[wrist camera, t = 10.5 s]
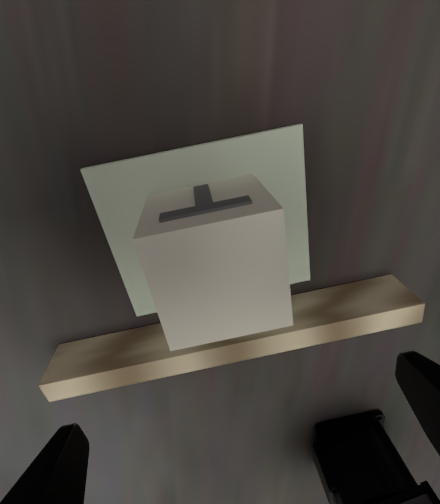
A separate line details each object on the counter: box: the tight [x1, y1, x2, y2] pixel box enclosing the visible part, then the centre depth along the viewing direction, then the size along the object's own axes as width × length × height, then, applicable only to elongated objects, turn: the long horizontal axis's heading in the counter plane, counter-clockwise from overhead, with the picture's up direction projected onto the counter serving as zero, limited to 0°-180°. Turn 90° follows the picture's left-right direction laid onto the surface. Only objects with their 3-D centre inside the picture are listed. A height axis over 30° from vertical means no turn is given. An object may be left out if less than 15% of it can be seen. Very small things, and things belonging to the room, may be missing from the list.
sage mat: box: [80, 124, 310, 316], centre depth 19 cm, size 12×10×1 cm
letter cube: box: [132, 173, 293, 351], centre depth 16 cm, size 6×6×6 cm
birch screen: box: [39, 274, 425, 402], centre depth 21 cm, size 24×2×4 cm, turn 100°
